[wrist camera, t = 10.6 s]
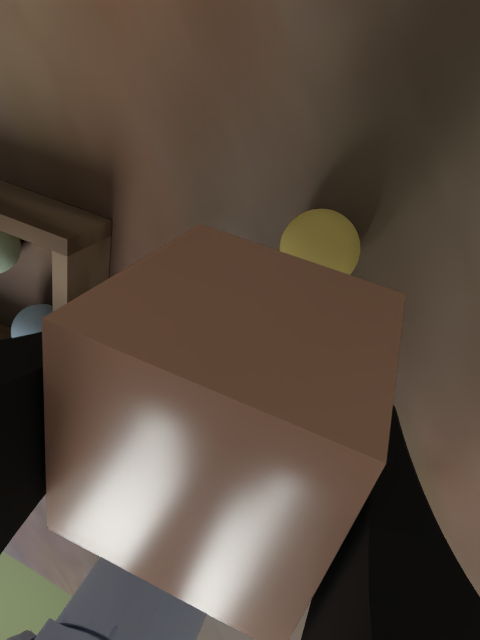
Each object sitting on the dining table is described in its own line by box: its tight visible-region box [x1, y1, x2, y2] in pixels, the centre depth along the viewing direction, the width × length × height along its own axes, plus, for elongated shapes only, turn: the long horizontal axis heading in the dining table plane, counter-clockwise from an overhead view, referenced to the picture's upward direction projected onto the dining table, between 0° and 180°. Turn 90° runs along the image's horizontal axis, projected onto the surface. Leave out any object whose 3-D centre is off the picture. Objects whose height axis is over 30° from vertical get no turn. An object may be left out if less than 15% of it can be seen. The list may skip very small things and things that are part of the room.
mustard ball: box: [280, 209, 360, 275], centre depth 17 cm, size 3×3×3 cm
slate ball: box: [11, 304, 53, 338], centre depth 25 cm, size 3×3×3 cm
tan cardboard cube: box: [42, 224, 406, 640], centre depth 11 cm, size 6×6×6 cm
